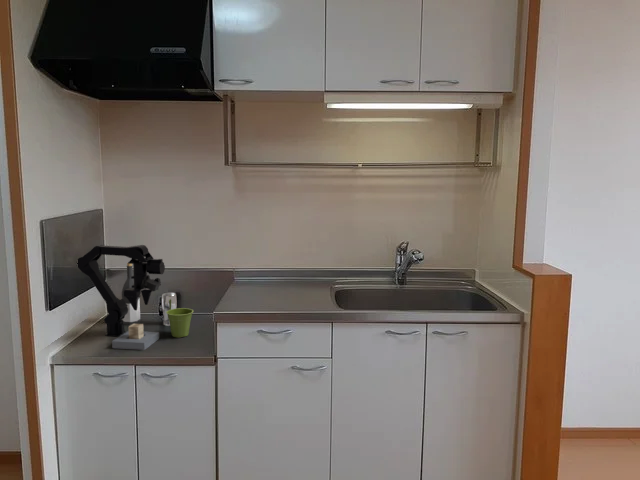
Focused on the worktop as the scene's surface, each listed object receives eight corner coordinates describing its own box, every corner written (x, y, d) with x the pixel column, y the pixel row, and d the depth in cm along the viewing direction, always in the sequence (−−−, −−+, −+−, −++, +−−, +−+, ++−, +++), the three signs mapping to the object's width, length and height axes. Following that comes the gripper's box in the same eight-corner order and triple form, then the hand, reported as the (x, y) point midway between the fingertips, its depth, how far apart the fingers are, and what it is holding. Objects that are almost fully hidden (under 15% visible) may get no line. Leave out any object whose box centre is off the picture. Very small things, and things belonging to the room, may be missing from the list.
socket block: (112, 348, 195) (112, 341, 195) (129, 337, 209) (128, 330, 209) (144, 349, 194) (144, 342, 194) (159, 338, 208) (158, 332, 207)
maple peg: (129, 344, 199) (128, 326, 198) (134, 341, 204) (133, 323, 203) (138, 345, 199) (138, 327, 198) (143, 341, 203) (143, 324, 202)
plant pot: (194, 338, 209) (194, 314, 207) (166, 340, 205) (166, 315, 204) (193, 330, 220) (192, 307, 218) (166, 332, 216) (166, 308, 215)
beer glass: (163, 326, 224) (162, 296, 222) (161, 322, 230) (160, 293, 228) (178, 324, 227) (177, 294, 225) (175, 321, 233) (175, 291, 232)
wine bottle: (124, 320, 232) (121, 261, 229) (141, 319, 234) (139, 261, 230) (121, 325, 225) (119, 264, 221) (139, 324, 227) (137, 264, 223)
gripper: (146, 278, 198) (147, 314, 200) (167, 270, 216) (167, 303, 218) (122, 277, 200) (123, 312, 202) (144, 269, 218) (145, 301, 220)
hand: (141, 307), depth 210 cm, fingers open, 9 cm apart
